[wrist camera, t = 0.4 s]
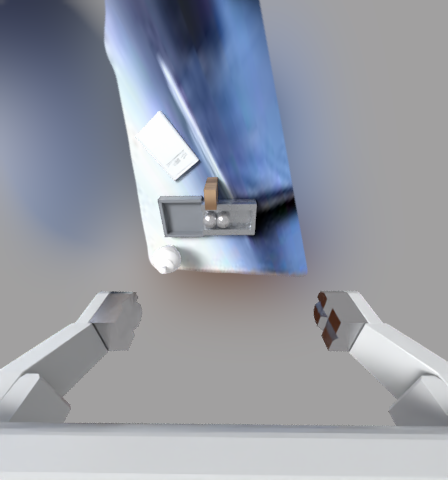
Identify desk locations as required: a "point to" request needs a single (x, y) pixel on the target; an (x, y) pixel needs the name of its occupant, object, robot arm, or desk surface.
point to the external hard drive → (166, 146)
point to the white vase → (166, 259)
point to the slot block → (234, 217)
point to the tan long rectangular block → (211, 193)
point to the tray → (181, 216)
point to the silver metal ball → (223, 219)
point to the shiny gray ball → (209, 219)
